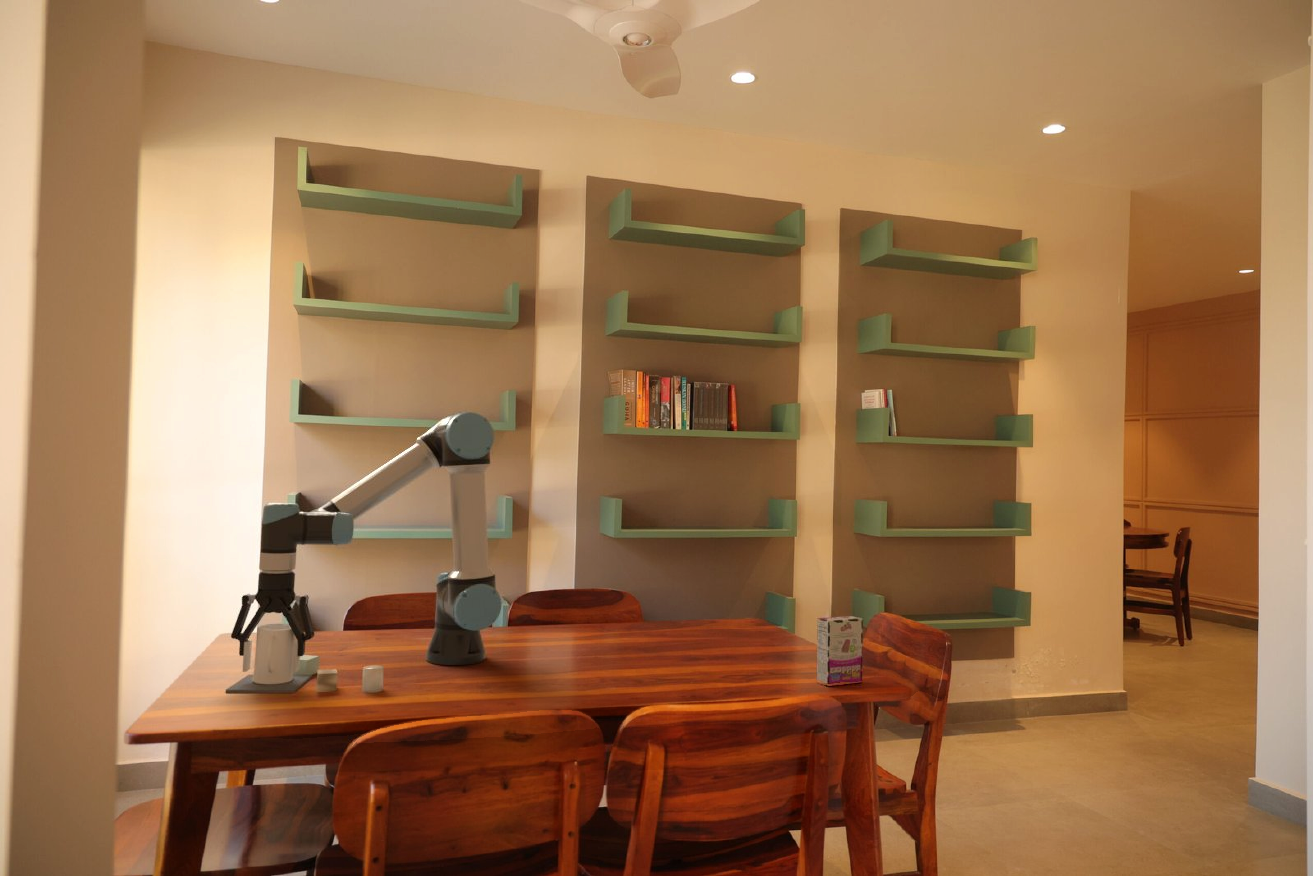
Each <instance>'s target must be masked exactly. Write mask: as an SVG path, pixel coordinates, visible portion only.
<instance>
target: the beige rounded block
mask: <svg viewBox="0 0 1313 876" xmlns="http://www.w3.org/2000/svg"><path fill="white" fill-rule="evenodd" d="M384 669H385V668H384V666H383V665H377V664H376V665H374V664H373V665H365V666H363V668H362V681H361V682H362V683H361V691H362V692H363V693H367V694H369V693H373V694H374V693H379V692H383V688H384V672H385V671H384Z"/></svg>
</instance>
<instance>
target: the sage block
mask: <svg viewBox="0 0 1313 876" xmlns="http://www.w3.org/2000/svg"><path fill="white" fill-rule="evenodd" d="M319 665H320V656H319V655H311V654H310V655H308V654H304V655H303V656H300V664H299V670H298V671H296V672H293V675H311V676H312V675H315V674H317V670H320V667H319Z"/></svg>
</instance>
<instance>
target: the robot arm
mask: <svg viewBox="0 0 1313 876" xmlns="http://www.w3.org/2000/svg"><path fill="white" fill-rule="evenodd" d="M494 441H495V432H494V429H493V426H492V424H491V422H490V421H489V420H488V419H487V418H486V417H485V416H483V415H482V414H480V413H476V412H473V411H472V412H471V411H462V412H461V411H459V412H458V413H454V414H450V415H447V416H445V417H444V418H442V419H441V420H440V421H438V422H437V423H436V424H435V425H434V426H432V427H431V428H429V430H427V431H426V432H425V433H423V434H422V435H420V436H419V437H417V438H416V441H415V444H414V445H412V446H411V447H408V449H406V450H404V451H403V452H402V453H400V454H399V455H397V456H396V457H394V458H393V459H391V460H390V461H388V462H387V463H385V464H384V465H382V466H380V467H379V468H378V469H376V470H374V471H373V472H371V473H370V474H369V475H366V476H365V477H364V478H362V479H361V480H360V481H357V482H356V483H355V484H353V485H352V486H350V487H348V488H347V489H345V490H344V491H343V492H341V493H339V494H337V495H336V496H334V498H332V499H330V500H329V501H328V502H326V503H324V504H323V505H321V506H320V507H319V508H315V509H313V510H311V511H309V512H308V511H301V510H300V506H299V504H298V503H293V502H292V503H291V502H269V503H267V504H265V505H264V507H263V511H262V519H261V531H260V532H261V534H260V552H259V563H258V565H259V566H258V569H259V570H260V571H259V573H258V582H257V592H256V593H255V594H250V593H246V594H244V595H242V597H241V607H240V610H239V613H238V615H237V618H236V621H235V623H234V626H233V629H232V632H231V636H230V638H231V639H233V640H238V642H239V649H238V650H239V651H238V654H239V657H242V656H243V657H242V672H243V673H246V672H248V671H250V670H251V666H252V665H251V663H252V661H251V660H252V647H253V645H252V643H253V640H252V639H250V636H252V634H253V632H255V631H254V630H255V629H256V628H257V627H258V624H260V621H261V620H262V619H263V616H265V614H272V613H276V614H282V615H283V617H284V618H285V619H286V621H287V622H288V623H287V624H289V625H290V627H291V629H292V631H293V633H294V635H295V639H296V640H295V642H294V650H293V666H292V672H296V671H298V670H299V664H300V656H303V655H305V653H306V652H305V651H306V641H309V640H311V639H313V638H314V637H315V630H314V626H313V622H312V617H311V614H310V609H309V604H308V603H309V598H310V596H309V595H307V594H305V595H297V594H296V592H295V582H296V573H295V571H294V570H296V563H297V545H300V546H301V545H303V546H304V545H313V546H314V545H316V546H317V545H318V546H319V545H320V546H321V545H322V546H323V545H324V546H325V545H326V546H327V545H328V546H339V545H342V546H343V545H349V544H351V542H352V541H353V538H354V529H355V527H354V523H355V521H356V520H358V519H359V518H361V517H362V516H363V515H365V514H366V513H368V512H369V511H371V510H373V509H374V508H375V507H377V506H378V505H380V504H382V503H383V502H384V501H386V500H387V499H388V498H390V497H392V496H393V495H395V494H396V493H397V492H399V491H400V490H402V489H404V488H406V487H407V486H408V485H409V484H411V483H413V482H415V480H417V479H419V477H422V476H423V475H424V474H426V473H427V472H429V471H430V470H432V469H435V470H439V469H440V468H441V467H443V469H445V471H447V472H448V474H449V486H450V487H449V488H450V489H449V490H450V511H451V531H452V532H451V533H452V535H451V537H452V555H453V556H452V557H453V559H452V560H453V569H452V570H451V572H441V573H439V574H438V576H437V581H436V584H435V585H436V595H435V596H436V599H435V616H434V617H435V618H434V631H433V634H432V637H431V639H430V641H429V645H428V647H427V650H426V657H425V658H426V659H425V660H426V661H427V662H428V663H431V664H434V665H440V666H441V665H442V666H466V665H474V664H478V663H482V662H484V661H485V660H486V649H485V645H484V641H483V638H482V634H481V633H482V632H481V630H485V629H487V628H489V627H491V626H492V625H493V624H494V623H495V622H496V621H497V619H498V618H499V616H500V614H501V611H502V599H501V596H500V593H499V591H497V587H496V585H497V584H496V572H495V571H494V570H493V569H492V568H491V567H490V566H489V545H488V544H489V543H488V525H487V524H488V521H487V501H486V500H487V499H486V498H487V497H486V474H485V473H486V470H488V468H489V467H490V466H491V450H492V448H493V445H494ZM255 600H256V603H257V604H258V605H259V607H258V609H257V611H256V612H255V614H254V615H253V617H252V618H251V620H250V622H249V623H248V624H247V626H246V627H245V629H244V625H245V623H246V620H247V617H248V615H249V611H250V609H251V607H252V604H254V602H255ZM294 601H295V602H296V604H297V605H298V606H299V607H298V609H299V612H300V617H301V621H302V626H303V628H302V626H301V624H300V623H299V621H298V619H297V617H296V615H295V613H294V610H293V607H292V606H291V605H293V602H294ZM243 629H244V631H243ZM242 631H243V632H242ZM484 659H485V660H484ZM483 660H484V661H483Z"/></svg>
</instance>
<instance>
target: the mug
mask: <svg viewBox="0 0 1313 876" xmlns="http://www.w3.org/2000/svg"><path fill="white" fill-rule="evenodd" d="M256 628H257V630H256V631H257V632H256V639H255V640H256V642H255V656H254V666H253V667H254V668H253V669H254V670H253V674H252V675H253V678H252V681H253V682H254V683H257V684H265V685H272V684H282V683H287V682H290V681H292V680H293V672H292V666H293V650H294V642H296V637H295V635H294V633H293V631H292V629H291V627H290V625H289V623H269V624H261V625H259V626H257V627H256Z"/></svg>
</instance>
